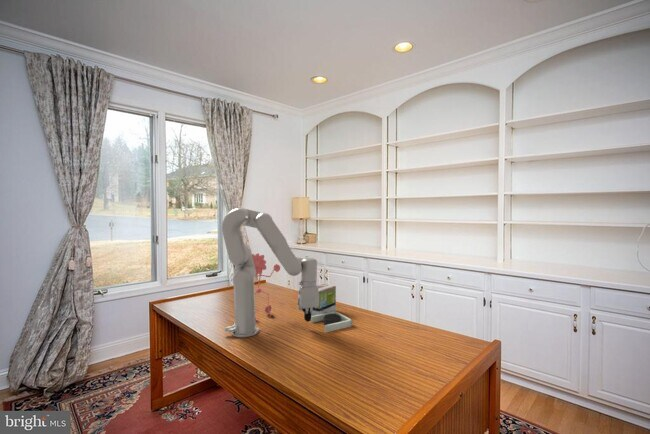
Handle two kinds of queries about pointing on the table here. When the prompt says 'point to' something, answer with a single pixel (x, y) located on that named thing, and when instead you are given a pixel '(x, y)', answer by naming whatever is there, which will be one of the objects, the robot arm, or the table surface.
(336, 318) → the smart speaker
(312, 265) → the robot arm
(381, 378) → the table surface
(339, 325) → the frame
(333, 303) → the tea box
